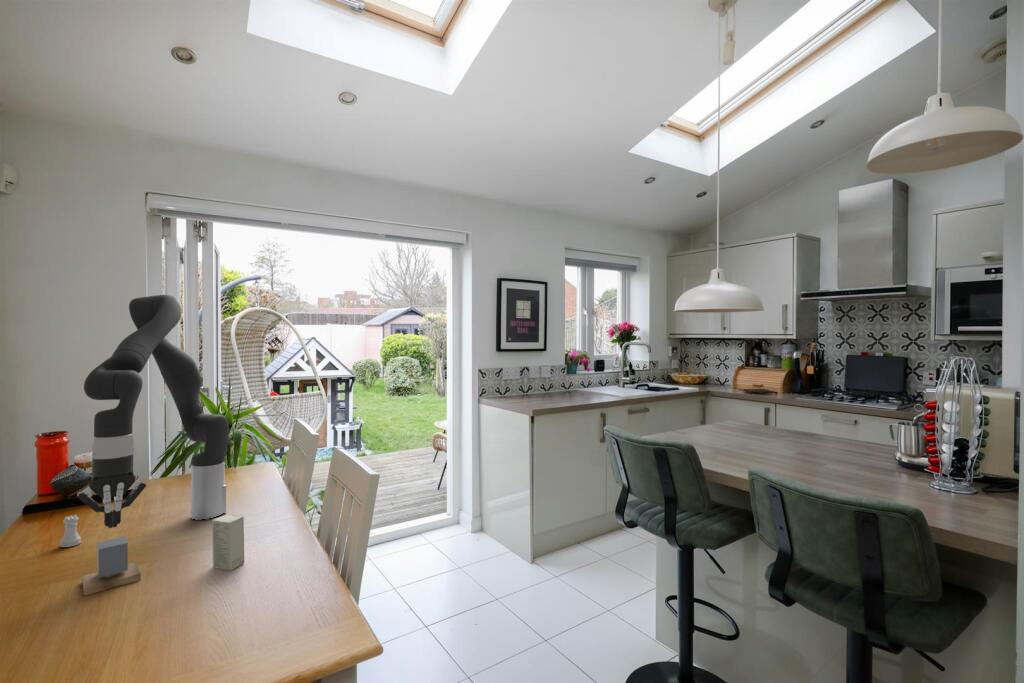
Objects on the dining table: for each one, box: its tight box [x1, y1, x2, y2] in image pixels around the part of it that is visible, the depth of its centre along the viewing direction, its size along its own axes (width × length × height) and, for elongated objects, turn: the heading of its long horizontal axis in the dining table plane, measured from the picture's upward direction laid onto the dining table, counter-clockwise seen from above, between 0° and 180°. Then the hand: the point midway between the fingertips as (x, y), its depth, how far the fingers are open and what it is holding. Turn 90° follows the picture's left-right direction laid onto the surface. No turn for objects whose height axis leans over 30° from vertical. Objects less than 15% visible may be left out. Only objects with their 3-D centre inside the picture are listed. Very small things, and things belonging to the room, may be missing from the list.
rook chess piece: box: [59, 514, 82, 548], centre depth 132 cm, size 4×4×8 cm
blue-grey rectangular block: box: [96, 535, 129, 578], centre depth 112 cm, size 5×5×7 cm
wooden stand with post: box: [81, 562, 142, 596], centre depth 112 cm, size 10×8×9 cm
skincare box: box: [211, 513, 245, 571], centre depth 120 cm, size 6×4×12 cm
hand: (112, 526), depth 112 cm, fingers closed
